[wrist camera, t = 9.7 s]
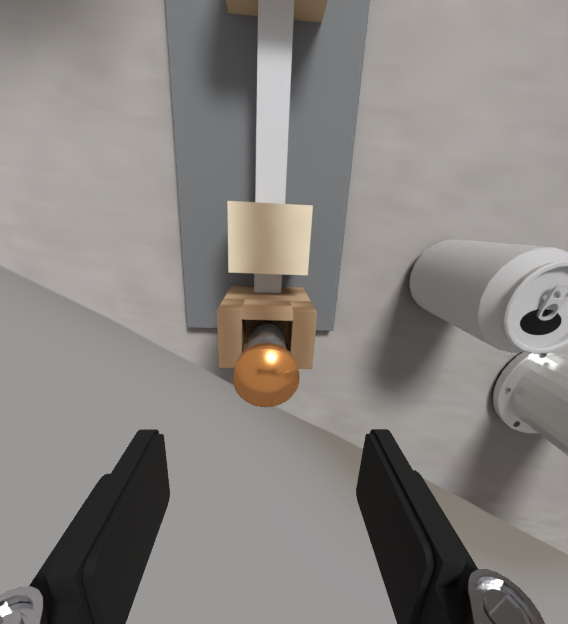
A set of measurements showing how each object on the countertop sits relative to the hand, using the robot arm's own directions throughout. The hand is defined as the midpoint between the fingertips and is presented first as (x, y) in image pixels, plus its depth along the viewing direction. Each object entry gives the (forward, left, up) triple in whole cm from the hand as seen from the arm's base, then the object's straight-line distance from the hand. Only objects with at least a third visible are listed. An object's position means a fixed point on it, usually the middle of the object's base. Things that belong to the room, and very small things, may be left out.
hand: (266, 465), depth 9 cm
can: (-18, -4, -20) cm, 27 cm away
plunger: (0, 0, -11) cm, 11 cm away
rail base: (0, -12, -20) cm, 23 cm away
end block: (0, 0, -20) cm, 20 cm away
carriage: (0, -7, -18) cm, 20 cm away
